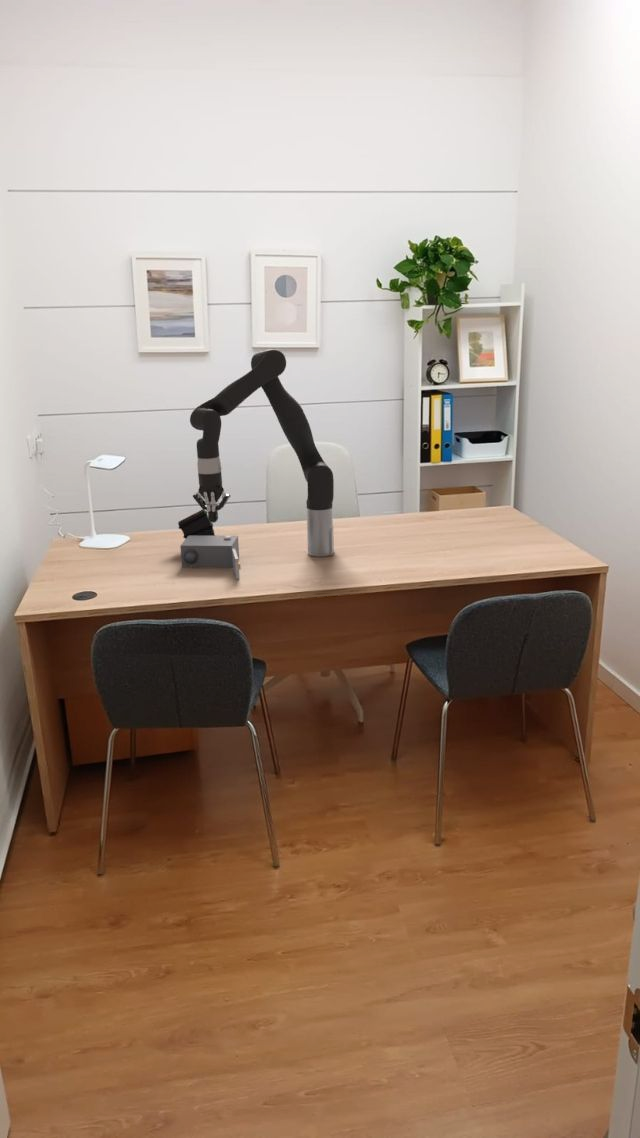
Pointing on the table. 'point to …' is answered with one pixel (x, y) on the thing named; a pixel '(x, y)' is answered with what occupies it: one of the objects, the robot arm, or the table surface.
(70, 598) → the table surface
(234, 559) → the side door
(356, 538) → the table surface
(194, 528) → the black piece
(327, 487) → the robot arm
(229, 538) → the camera box
